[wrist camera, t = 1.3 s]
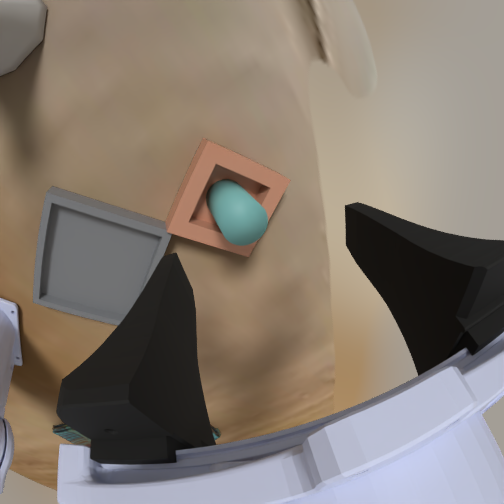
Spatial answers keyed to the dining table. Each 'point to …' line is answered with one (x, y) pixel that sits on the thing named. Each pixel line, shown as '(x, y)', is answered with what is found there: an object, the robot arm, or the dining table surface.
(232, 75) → the dining table surface
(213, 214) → the pin
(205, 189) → the salmon square dish
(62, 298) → the tray
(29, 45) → the flask
